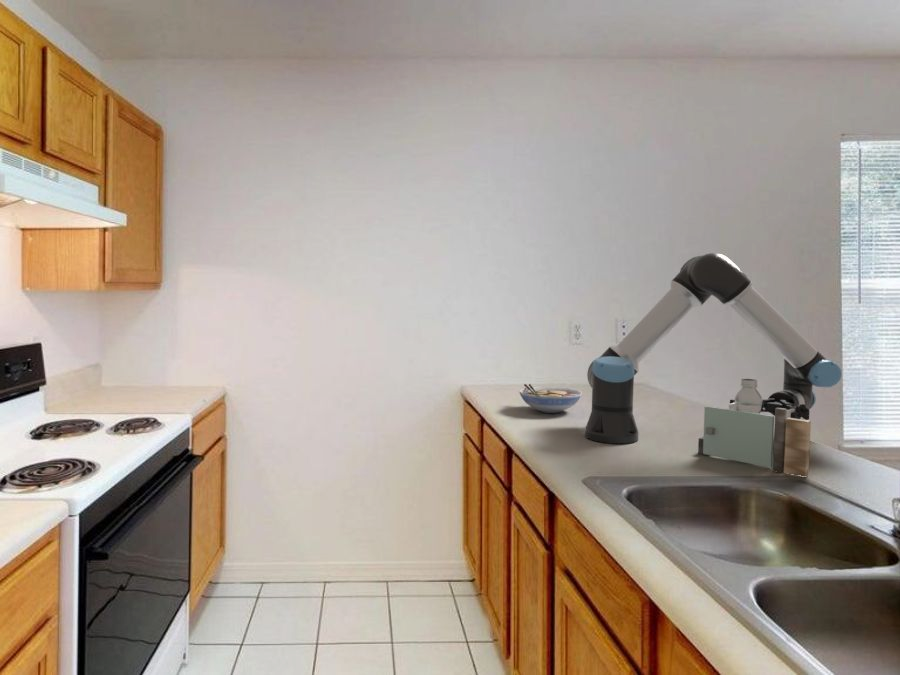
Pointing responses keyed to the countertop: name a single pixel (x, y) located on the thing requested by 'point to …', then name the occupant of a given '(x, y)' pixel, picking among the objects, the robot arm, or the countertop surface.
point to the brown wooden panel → (787, 444)
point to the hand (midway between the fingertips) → (756, 412)
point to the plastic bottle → (748, 397)
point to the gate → (739, 435)
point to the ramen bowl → (550, 398)
